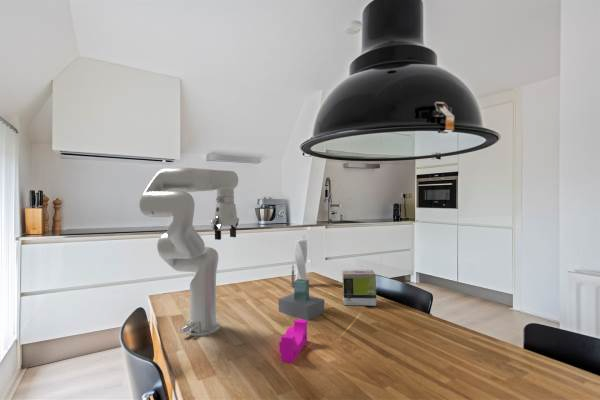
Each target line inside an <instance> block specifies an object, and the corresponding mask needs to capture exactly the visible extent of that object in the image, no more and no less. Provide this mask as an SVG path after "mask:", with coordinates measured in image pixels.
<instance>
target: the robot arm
mask: <svg viewBox="0 0 600 400" xmlns="http://www.w3.org/2000/svg"><path fill="white" fill-rule="evenodd" d="M238 185H239V176H238V174H237V172H235V171H234V170H222V169H210V168H196V167H195V168H194V167H165V168H162V169H160V170H159V171H158V172H157V173H156V174H155V175H154V177H153V178H152V179H151V180H150V182H149V184H148V185H147V187H146V188H145V190H143V193H142V195H141V196H140V199H139V209H140V212H141V213H142V214H143V215H144V216H146V217H150V218H172V222H171V223H170V224H169V226H168V228H167V230H166V232H165V233H163V234H161V236H160V237H159V238H158V240H157V243H156V245H157V246H156V247H157V251H158V255H159V257H160V258H161V259H162V260H163V261H164V262H165V263H166V264H167V265H168V266H169V267H171V268H172V269H173V270H174V271H177V272H186V273H188V272H189V273H195V275H194V276H193V278H192V279H191V281H190V284H189V307H190V308H189V316H190V317H189V318H190V319H189V320H188V321H187V322H188V323H187V324H186V326H183V327H181V328H180V329H179V332H180V333H181V334H185V333H186V334H187V335H189V336H192V337H203V336H209V335H212V334H214V333H217V332H218V331H220V329H221V323H220V322H219V321H217V272H218V271H217V269H218V264H219V253H218V251H217V250H216V249H214V248H213V247H211V246H210V247H209V246H205V242H204V240H203V238H202V237H201V235H200V234H199V232H198V231H197V230H196V228H195V227H194V226H193V222H194V221H193V219H194V214H195V205H196V203H195V200H194V197H193V195H191V194H190V193H194V192H210V191H211V192H212V191H216V199H215V201H216V204H215V210H214V218H213V219H211V220H210V225H211V228H212V229H213V231H214V239H215V240H218V241H220V240H221V239H222V230H221V229H222V227H228V226H229V227H230V229H229V237H230V238H236V237H237V229H238V225H239V221H240V218H238V216H237V215H238V214H237V213H238V212H237V208H236V207H237V205H236V203H235V191H234V190H235V188H237V186H238Z"/></svg>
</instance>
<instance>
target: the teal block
mask: <svg viewBox="0 0 600 400" xmlns="http://www.w3.org/2000/svg"><path fill="white" fill-rule="evenodd" d="M293 291H294V292H293V293H294V300H299V301H306V300H307V299H308V298H309V296H310V279H307V280H306V279H297V280H296V281H295V280H294V286H293Z"/></svg>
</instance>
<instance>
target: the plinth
mask: <svg viewBox="0 0 600 400" xmlns="http://www.w3.org/2000/svg"><path fill="white" fill-rule="evenodd" d="M278 312H279V313H282V314H285V315H287V316H291V317H293V318H294V317H295V318H296V319H303V320H307V322H308V321H310V320H312V319H315V318H317V317H318V316H320V315H322V314H324V313H325V299H324V298H319V297H316V296H311V295H309V298H308V299H307V300H306V301H299V300H294V292H293V293H291V294H288V295H286V296H283V297H281V298H278Z"/></svg>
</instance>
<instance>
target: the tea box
mask: <svg viewBox="0 0 600 400" xmlns="http://www.w3.org/2000/svg"><path fill="white" fill-rule="evenodd" d="M341 272H342V299H343V306H372V307H373V306H375V307H376V306H377V279H376V278H377V275H376V273H375V272H374V270H373V269H342V271H341Z"/></svg>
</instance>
